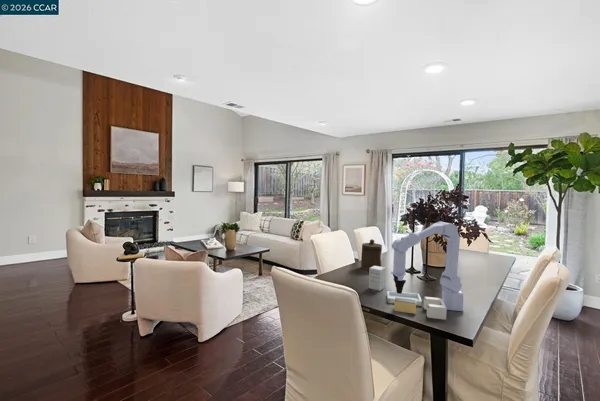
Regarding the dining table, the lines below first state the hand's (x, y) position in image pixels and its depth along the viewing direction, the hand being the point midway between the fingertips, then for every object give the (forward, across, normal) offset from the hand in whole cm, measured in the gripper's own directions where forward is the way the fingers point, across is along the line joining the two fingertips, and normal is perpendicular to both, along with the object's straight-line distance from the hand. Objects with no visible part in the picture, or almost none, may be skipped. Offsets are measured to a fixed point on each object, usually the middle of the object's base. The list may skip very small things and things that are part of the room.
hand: (398, 290), depth 151 cm
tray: (+9, -13, +4) cm, 17 cm away
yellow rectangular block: (+10, 0, +3) cm, 10 cm away
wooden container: (+10, -75, -14) cm, 77 cm away
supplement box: (+10, -30, -10) cm, 33 cm away
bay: (+9, 0, +17) cm, 19 cm away
